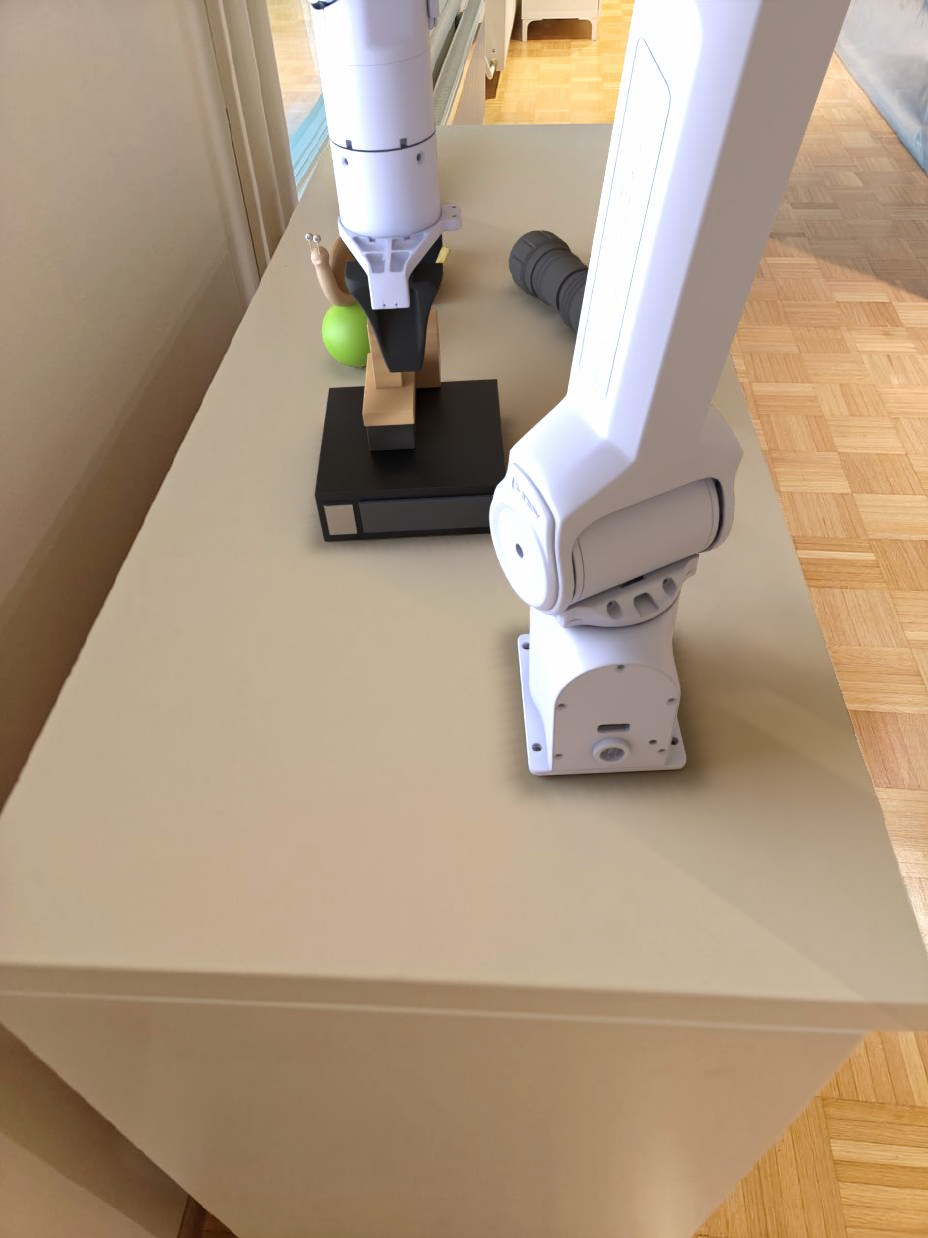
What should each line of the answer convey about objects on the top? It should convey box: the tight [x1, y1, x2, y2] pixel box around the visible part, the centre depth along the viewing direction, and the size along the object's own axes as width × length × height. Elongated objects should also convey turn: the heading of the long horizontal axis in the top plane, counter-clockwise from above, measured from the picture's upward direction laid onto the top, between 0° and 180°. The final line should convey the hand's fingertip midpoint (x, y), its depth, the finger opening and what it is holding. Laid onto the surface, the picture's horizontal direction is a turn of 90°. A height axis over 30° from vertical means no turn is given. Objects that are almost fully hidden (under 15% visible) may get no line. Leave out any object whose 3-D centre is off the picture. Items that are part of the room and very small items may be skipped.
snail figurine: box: [305, 232, 371, 368], centre depth 70 cm, size 5×6×12 cm
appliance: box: [314, 378, 507, 542], centre depth 62 cm, size 12×12×4 cm
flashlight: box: [508, 229, 589, 335], centre depth 76 cm, size 15×5×5 cm, turn 26°
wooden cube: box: [415, 308, 442, 388], centre depth 65 cm, size 4×4×4 cm
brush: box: [363, 319, 417, 451], centre depth 59 cm, size 3×7×8 cm, turn 1°
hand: (405, 359), depth 59 cm, fingers closed on brush, 2 cm apart
